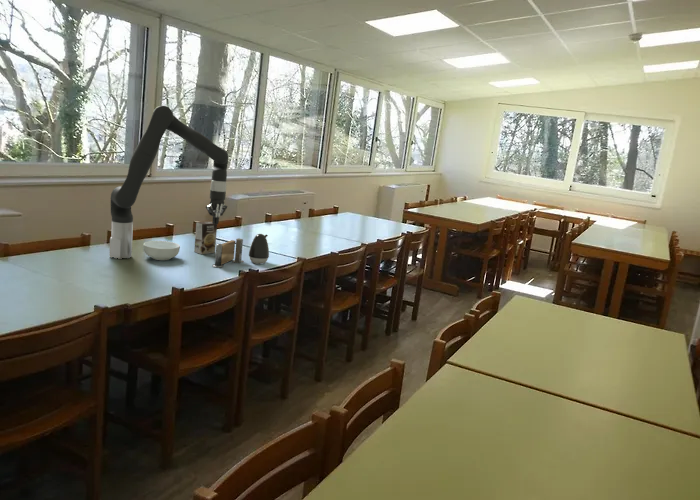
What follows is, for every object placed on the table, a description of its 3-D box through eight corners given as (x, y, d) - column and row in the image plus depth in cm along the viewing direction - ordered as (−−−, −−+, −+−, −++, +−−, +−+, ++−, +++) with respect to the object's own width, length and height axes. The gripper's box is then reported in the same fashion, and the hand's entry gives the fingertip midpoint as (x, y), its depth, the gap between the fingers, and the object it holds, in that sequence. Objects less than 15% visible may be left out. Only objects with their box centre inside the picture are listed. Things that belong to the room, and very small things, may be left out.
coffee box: (201, 254, 278) (203, 224, 275) (193, 251, 282) (195, 221, 279) (215, 252, 286) (217, 223, 282) (208, 250, 289) (209, 220, 286)
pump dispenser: (272, 263, 278) (275, 234, 275) (259, 266, 269) (261, 236, 266) (257, 259, 283) (259, 230, 280) (244, 262, 274) (246, 232, 271)
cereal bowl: (167, 264, 253) (168, 250, 251) (135, 259, 256) (136, 244, 254) (185, 257, 269) (186, 243, 268) (155, 252, 272) (156, 238, 271)
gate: (217, 264, 262) (218, 245, 260) (230, 258, 276) (231, 240, 274) (221, 265, 262) (222, 245, 259) (234, 259, 275) (235, 240, 273)
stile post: (239, 263, 270) (241, 240, 267) (231, 262, 271) (233, 238, 269) (243, 262, 274) (245, 239, 272) (236, 260, 275) (237, 237, 273)
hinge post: (219, 268, 257) (221, 246, 255) (210, 266, 258) (211, 244, 256) (224, 266, 262) (226, 244, 260) (215, 264, 263) (217, 242, 261)
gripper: (222, 188, 273) (219, 222, 276) (202, 188, 261) (200, 223, 265) (233, 190, 269) (230, 224, 273) (213, 191, 258) (211, 226, 261)
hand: (215, 224), depth 269 cm, fingers closed
